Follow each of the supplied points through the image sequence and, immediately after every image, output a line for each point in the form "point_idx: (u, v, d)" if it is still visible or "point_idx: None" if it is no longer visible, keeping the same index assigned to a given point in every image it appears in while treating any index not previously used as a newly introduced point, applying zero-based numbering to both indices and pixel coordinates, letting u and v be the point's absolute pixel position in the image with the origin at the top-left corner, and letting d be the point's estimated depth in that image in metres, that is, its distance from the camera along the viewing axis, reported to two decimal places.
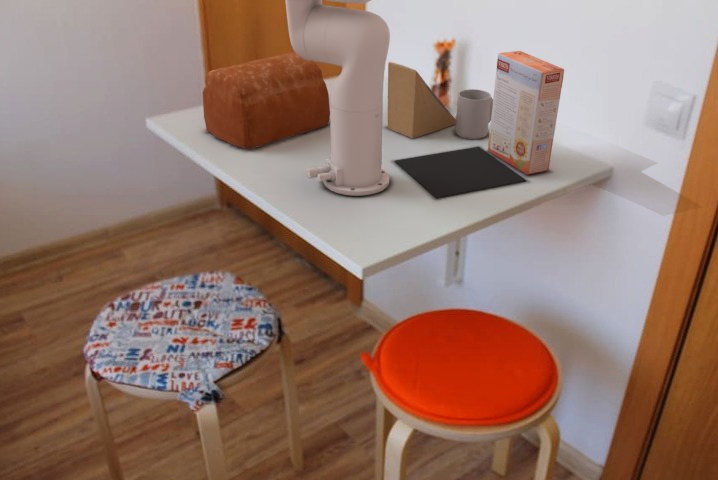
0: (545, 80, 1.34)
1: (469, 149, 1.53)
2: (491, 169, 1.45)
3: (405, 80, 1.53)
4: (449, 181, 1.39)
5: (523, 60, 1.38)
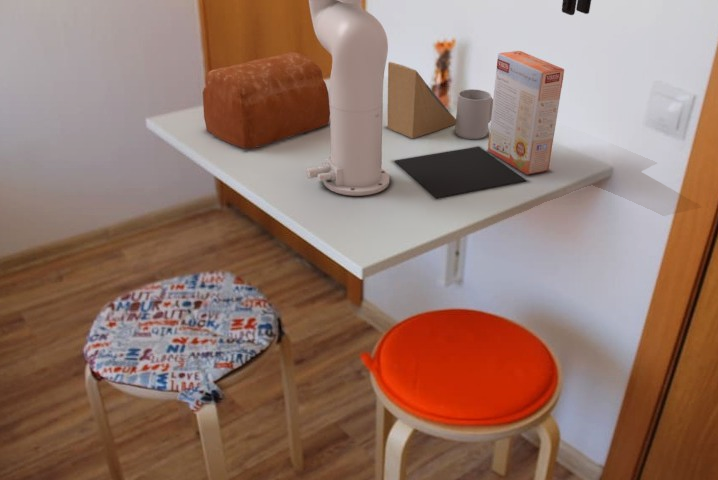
0: (545, 80, 1.34)
1: (469, 149, 1.53)
2: (491, 169, 1.45)
3: (405, 80, 1.53)
4: (449, 181, 1.39)
5: (523, 60, 1.38)
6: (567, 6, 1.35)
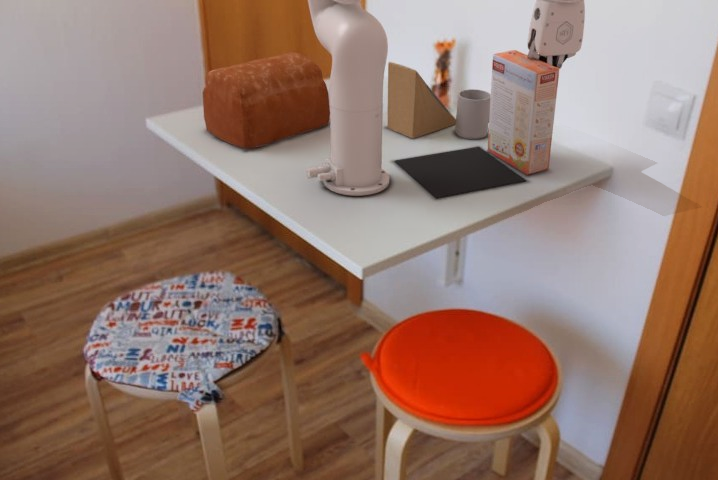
0: (540, 81, 1.33)
1: (469, 149, 1.53)
2: (491, 169, 1.45)
3: (405, 80, 1.53)
4: (449, 181, 1.39)
5: (517, 61, 1.38)
6: None
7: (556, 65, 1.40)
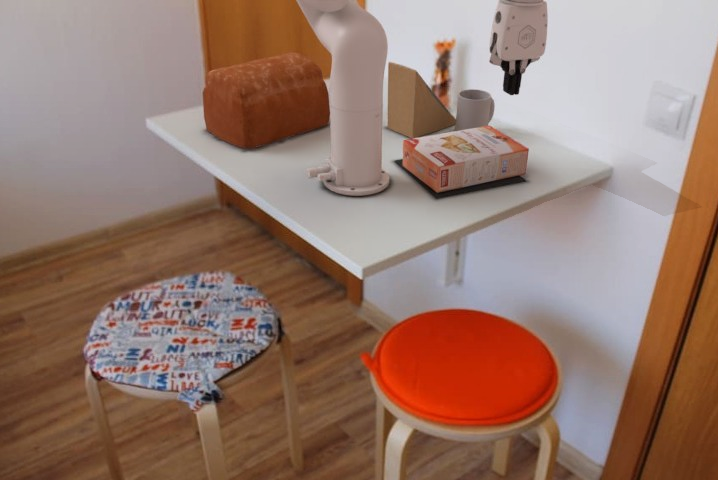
0: (445, 186, 1.34)
1: None
2: None
3: (405, 80, 1.53)
4: None
5: (417, 172, 1.39)
6: (507, 87, 1.38)
7: (519, 70, 1.37)
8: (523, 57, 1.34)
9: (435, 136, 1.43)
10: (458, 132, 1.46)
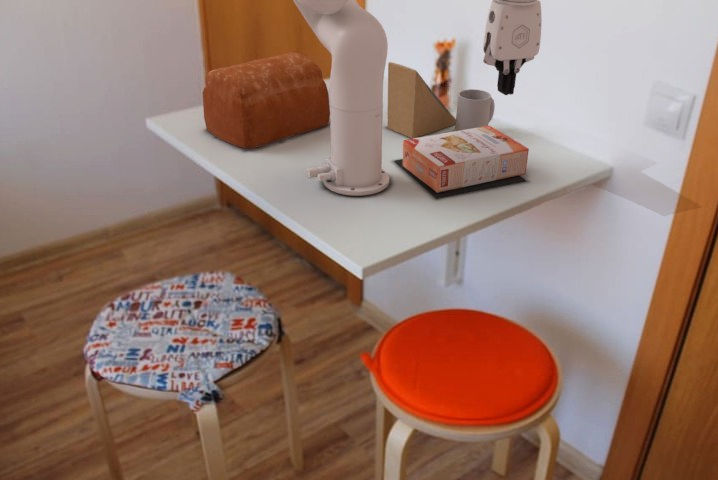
0: (445, 186, 1.34)
1: None
2: None
3: (405, 80, 1.53)
4: None
5: (417, 172, 1.39)
6: (502, 87, 1.38)
7: (514, 69, 1.36)
8: (517, 57, 1.33)
9: (435, 136, 1.43)
10: (458, 132, 1.46)
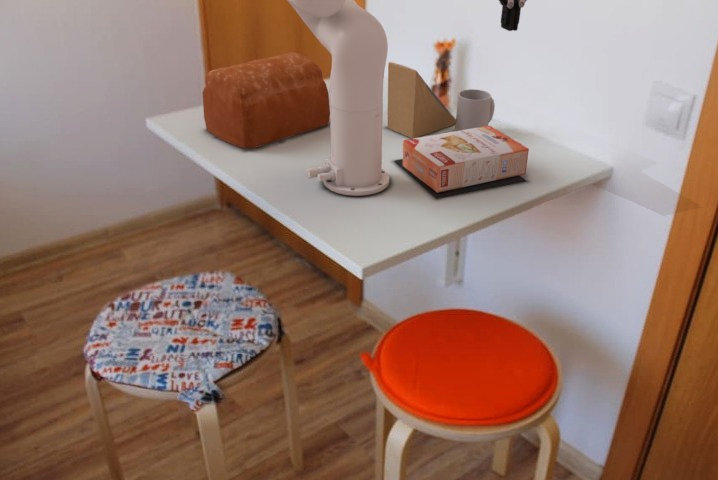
0: (445, 186, 1.34)
1: None
2: None
3: (405, 80, 1.53)
4: None
5: (417, 172, 1.39)
6: (505, 22, 1.31)
7: (518, 3, 1.30)
8: None
9: (435, 136, 1.43)
10: (458, 132, 1.46)
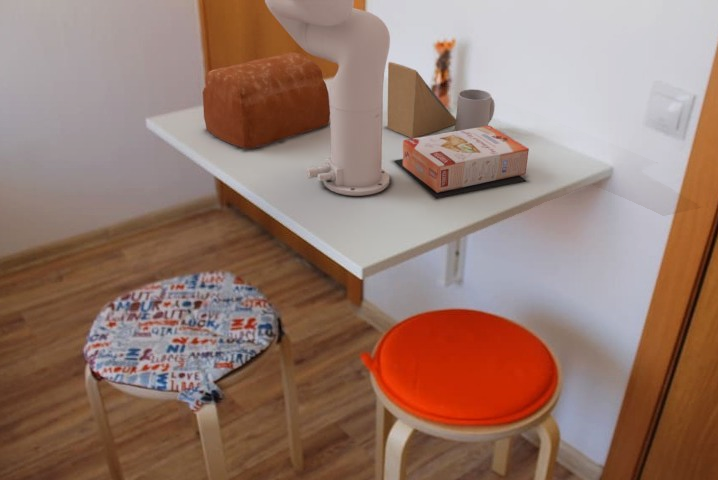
0: (445, 186, 1.34)
1: None
2: None
3: (405, 80, 1.53)
4: None
5: (417, 172, 1.39)
6: None
7: None
8: None
9: (435, 136, 1.43)
10: (458, 132, 1.46)
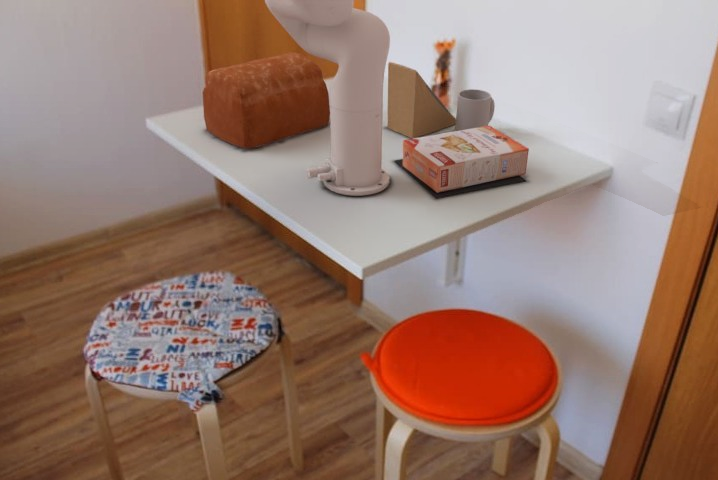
0: (445, 186, 1.34)
1: None
2: None
3: (405, 80, 1.53)
4: None
5: (417, 172, 1.39)
6: None
7: None
8: None
9: (435, 136, 1.43)
10: (458, 132, 1.46)
